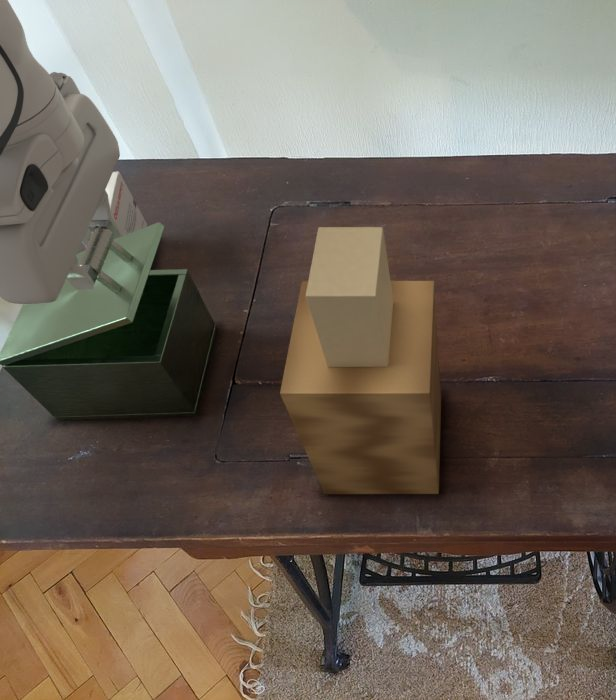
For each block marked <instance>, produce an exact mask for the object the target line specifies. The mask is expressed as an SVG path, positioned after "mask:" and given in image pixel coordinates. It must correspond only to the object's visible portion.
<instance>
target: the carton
mask: <svg viewBox="0 0 616 700" xmlns="http://www.w3.org/2000/svg"><path fill="white" fill-rule="evenodd" d="M312 253H313V255H312V258H311V264H310V270H309V275H308V280H307V281H308V285H307V291H306V299H307V302H308V306H309V309H310V312H311V315H312V319H313V322H314V325H315V328H316V331H317V335H318V338H319V341H320V344H321V347H322V351H323V354H324V357H325V360H326V364H327V367H388V362H389V350H390V338H391V326H392V314H393V295H392V288H391V281H392V280H391V276H390V267H389V262H388V261H389V260H388V254H387V247H386V240H385V232H384V227H383V226H353V227H352V226H328V227H327V226H319V227H318V228H317V232H316V237H315V242H314V248H313V252H312Z"/></svg>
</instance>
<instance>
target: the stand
mask: <svg viewBox="0 0 616 700" xmlns="http://www.w3.org/2000/svg"><path fill="white" fill-rule="evenodd" d="M390 281H391V288H392V295H393V314H392V326H391V338H390V350H389V362H388V367H327V364H326V360H325V357H324V354H323V351H322V347H321V344H320V341H319V338H318V335H317V331H316V328H315V325H314V322H313V319H312V315H311V312H310V309H309V306H308V302H307V299H306V291H307V285H308V280H302V281H301V283H300V288H299V293H298V297H297V298H298V299H297V303H296V309H295V314H294V319H293V324H292V328H291V329H292V330H291V334H290V340H289V344H288V350H287V356H286V360H285V365H284V369H283V370H284V371H283V376H282V380H281V385H280V391H279V394H280V395H279V396H280V397H281V399H282V402H283V404H284V406H285V408H286V411H287V412H288V415H289V417H290V419H291V422H292V424H293V426H294V429H295V431H296V433H297V436H298V438H299V440H300V442H301V445H302V447H303V449H304V451H305V453H306V456H307V458H308V460H309V463H310V465H311V467H312V469H313V471H314V473H315V476H316V478H317V481H318V483H319V485H320V487H321V489H322V492H323V494H324V495H439V493H440V463H441V462H440V457H441V420H442V419H441V418H442V388H441V387H442V386H441V373H440V371H441V370H440V356H439V340H438V324H437V323H438V322H437V307H436V290H435V281H434V280H390Z"/></svg>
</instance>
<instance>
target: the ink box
mask: <svg viewBox="0 0 616 700" xmlns="http://www.w3.org/2000/svg"><path fill="white" fill-rule="evenodd" d="M105 191H106V192H107V194H108V199H109V205H110V211H111V217H112V219H113V220H114V222H115V224H116V225H117V230H116V232H115V235H114V239H116V238H119V237H122V236H124V235H127V234H129V233H132V232H135V231H137V230H140V229H142V228H145V227H147V226H149V225H148V223H147V221H146V219H145V217H144V215H143V213H142V212H141V210H140V208H139V206H138V205H137V202H136V201H135V199H134V197H133V195H132V192H131V191H130V189H129V187H128V186H127V184H126V182H125V179H124V178H123V176H122V174H121V172H120V171H119V170H118V171H117V170H116V171H113V173H112V175H111V177H110V180H109V182H108V184H107V187H106V189H105ZM92 233H93V232H91V231H90V229H89V228H88V230H87V232H86V235H85V237H84V239H83V241H82V244H83V246H84V247H85V248H86V247H87V245H88V242H89V240H90V238H91V235H92ZM114 239H113V240H114ZM150 270H152V268H151V269H150Z"/></svg>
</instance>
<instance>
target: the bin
mask: <svg viewBox="0 0 616 700" xmlns="http://www.w3.org/2000/svg"><path fill="white" fill-rule="evenodd" d="M217 333H218V326H217V324H216V323H215V320H214V319H213V317H212V315H211V313H210V311H209V309H208V307H207V305H206V303H205V301H204V299H203V297H202V295H201V294H200V292H199V289H198V287H197V286H196V284H195V281H194V279H193V278H192V276H191V274H190V272H189V270H188V269H187V268H182V269H181V268H180V269H179V268H177V269H151V270H150V272H149V275H148V278H147V281H146V284H145V287H144V290H143V293H142V296H141V299H140V302H139V305H138V308H137V311H136V314H135V317H134V320H133V322H132V323H130V324H127V325H124V326H121V327H118V328H115V329H112V330H109V331H106V332H103V333H100V334H97V335H94V336H91V337H88V338H85V339H82V340H79V341H76V342H73V343H70V344H67V345H64V346H61V347H58V348H55V349H52V350H49V351H46V352H43V353H40V354H37V355H34V356H31V357H28V358H25V359H22V360H19V361H16V362H13V363H10V364H7V365H4V366H2V365H1V366H2V369H4V370H5V371H6V372H7V373H8V374H9V375H10V376H11V377H12V378H13V379H14V380H15V381H16V382H17V383H18V384H19V385H20V386H21V387H22V388H23V389H24V390H26V391H27V393H28V394H30V395H31V396H32V397H33V399H35V400H36V401H37V402H38V403H39V404H40V405H41V406H42V407H43V408H44V409H45V410H46V411H47V412H48V413H49V414H51V416H52V417H53V418H54V419H56V421H85V420H114V419H115V420H116V419H147V418H149V419H151V418H175V417H177V418H178V417H181V418H182V417H197V416H198V412H199V407H200V405H201V399H202V396H203V391H204V387H205V383H206V379H207V375H208V371H209V366H210V362H211V357H212V353H213V349H214V344H215V340H216V336H217Z"/></svg>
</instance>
